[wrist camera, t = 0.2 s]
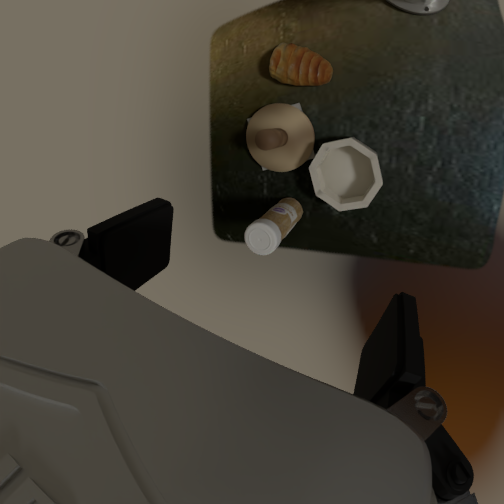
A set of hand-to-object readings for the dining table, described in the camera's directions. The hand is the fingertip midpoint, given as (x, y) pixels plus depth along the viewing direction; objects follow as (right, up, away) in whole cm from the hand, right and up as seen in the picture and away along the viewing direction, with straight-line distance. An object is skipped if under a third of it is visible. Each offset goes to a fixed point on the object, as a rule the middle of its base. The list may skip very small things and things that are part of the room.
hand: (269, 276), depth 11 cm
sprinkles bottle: (+6, +8, +38) cm, 39 cm away
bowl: (+14, +13, +31) cm, 37 cm away
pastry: (+7, +29, +27) cm, 41 cm away
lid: (+4, +19, +33) cm, 38 cm away
